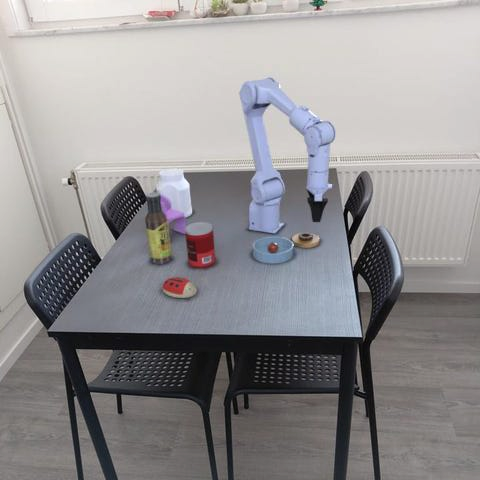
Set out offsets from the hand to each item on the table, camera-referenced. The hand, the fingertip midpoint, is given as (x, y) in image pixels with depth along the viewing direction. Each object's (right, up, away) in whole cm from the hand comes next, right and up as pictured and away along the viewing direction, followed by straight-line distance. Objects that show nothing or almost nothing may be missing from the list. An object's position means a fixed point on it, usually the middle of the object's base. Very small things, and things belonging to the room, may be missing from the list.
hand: (315, 216), depth 140 cm
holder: (-2, -6, +9) cm, 11 cm away
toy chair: (-44, -3, +17) cm, 48 cm away
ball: (-12, -9, +1) cm, 15 cm away
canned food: (-33, -14, 0) cm, 36 cm away
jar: (-45, +8, +33) cm, 56 cm away
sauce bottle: (-45, -13, +3) cm, 47 cm away
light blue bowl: (-12, -11, +3) cm, 16 cm away
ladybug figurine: (-38, -23, -14) cm, 46 cm away
